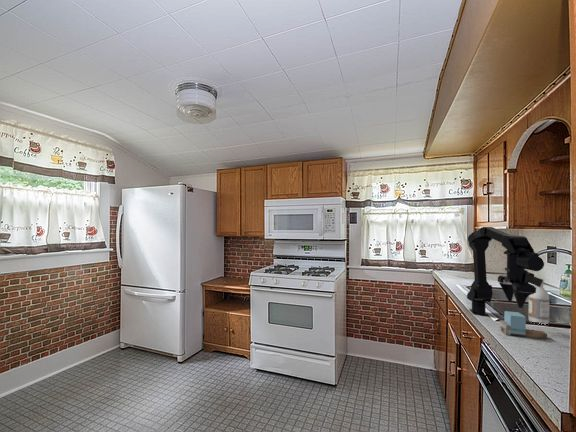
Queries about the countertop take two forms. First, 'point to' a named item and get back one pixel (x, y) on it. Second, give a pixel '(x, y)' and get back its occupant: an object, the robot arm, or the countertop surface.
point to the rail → (529, 333)
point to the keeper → (516, 322)
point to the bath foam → (539, 306)
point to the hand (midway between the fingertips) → (515, 304)
